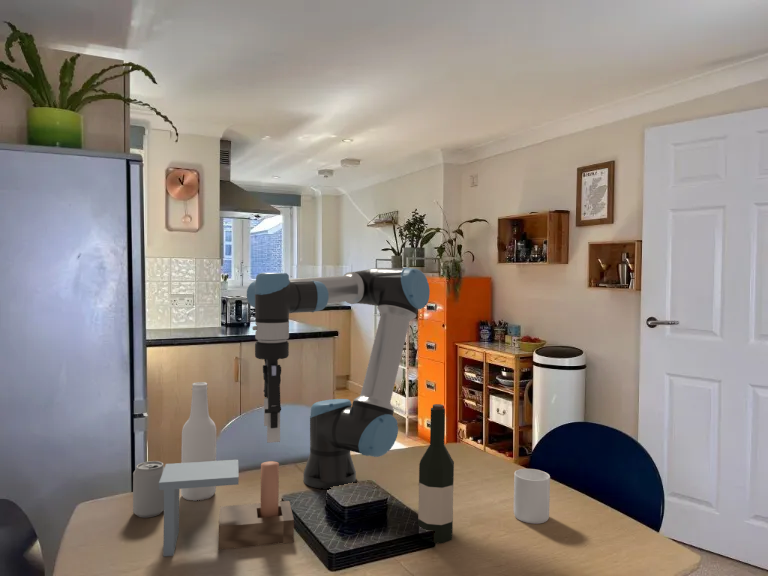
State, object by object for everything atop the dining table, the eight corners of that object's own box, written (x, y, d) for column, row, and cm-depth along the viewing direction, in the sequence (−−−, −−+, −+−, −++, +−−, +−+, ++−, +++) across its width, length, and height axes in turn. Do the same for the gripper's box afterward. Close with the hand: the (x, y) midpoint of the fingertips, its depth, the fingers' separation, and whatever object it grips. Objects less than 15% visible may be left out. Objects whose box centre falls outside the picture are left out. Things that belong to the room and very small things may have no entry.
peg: (277, 529, 132) (278, 460, 132) (278, 536, 128) (279, 466, 128) (259, 530, 131) (260, 461, 131) (260, 538, 127) (261, 467, 127)
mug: (534, 504, 150) (535, 463, 150) (555, 523, 138) (556, 479, 138) (503, 505, 148) (504, 464, 148) (521, 525, 136) (522, 481, 136)
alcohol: (222, 493, 153) (224, 382, 153) (197, 504, 146) (199, 387, 145) (199, 486, 158) (200, 379, 157) (173, 497, 150) (175, 384, 149)
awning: (237, 525, 134) (238, 459, 134) (237, 549, 122) (238, 477, 122) (165, 531, 130) (165, 463, 129) (158, 557, 118) (159, 482, 118)
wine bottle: (443, 547, 125) (446, 411, 124) (410, 537, 129) (413, 406, 129) (459, 533, 132) (462, 404, 131) (427, 524, 136) (430, 399, 136)
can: (153, 520, 136) (154, 470, 135) (126, 517, 137) (126, 467, 137) (171, 508, 143) (172, 460, 143) (145, 505, 144) (145, 458, 144)
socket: (288, 521, 136) (289, 500, 136) (293, 542, 126) (293, 519, 126) (219, 527, 132) (219, 506, 132) (218, 549, 122) (218, 526, 122)
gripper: (253, 334, 140) (253, 420, 141) (257, 348, 116) (256, 451, 117) (284, 334, 142) (283, 418, 143) (294, 347, 118) (293, 448, 118)
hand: (271, 433), depth 130 cm, fingers open, 13 cm apart
